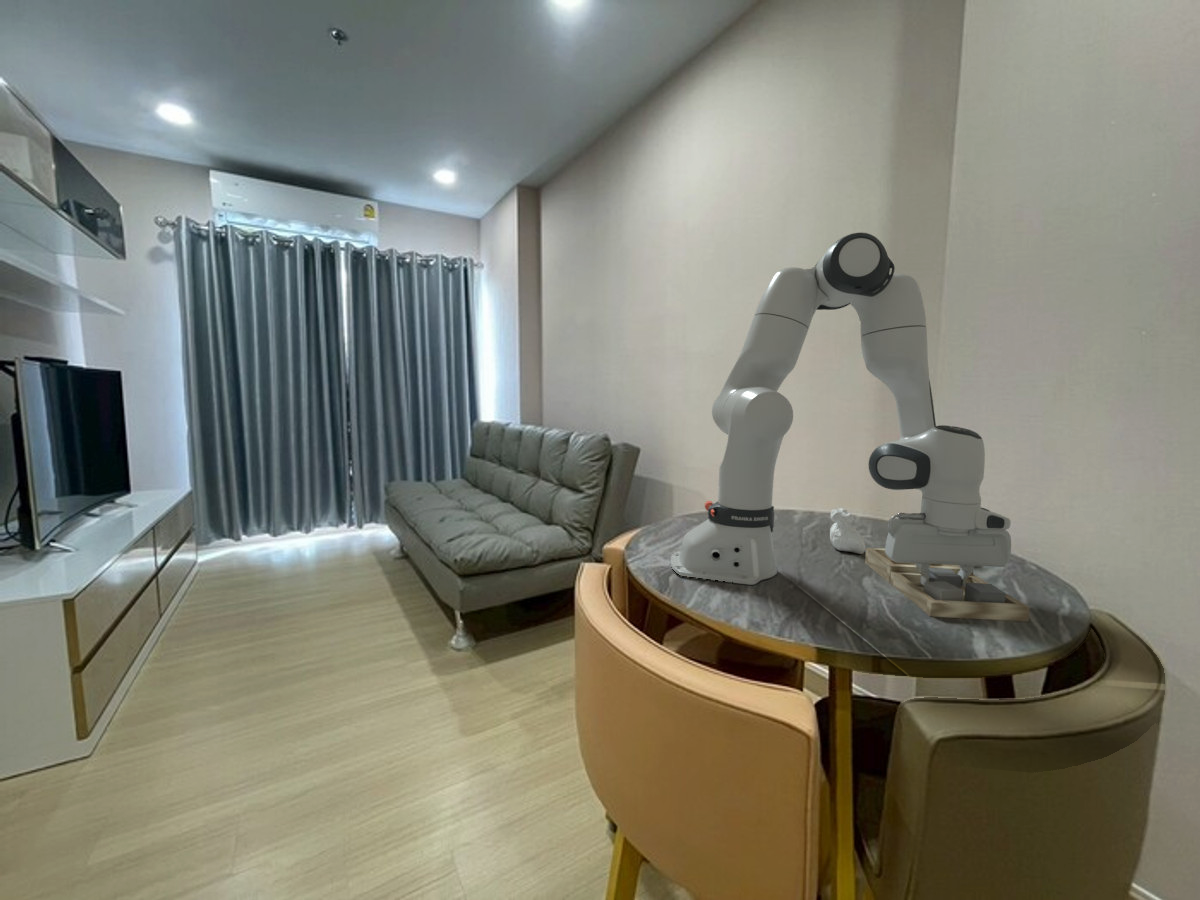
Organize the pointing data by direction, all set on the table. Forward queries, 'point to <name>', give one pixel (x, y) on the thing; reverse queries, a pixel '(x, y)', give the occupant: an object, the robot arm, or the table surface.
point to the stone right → (983, 593)
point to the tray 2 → (958, 609)
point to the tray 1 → (895, 564)
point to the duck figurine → (845, 532)
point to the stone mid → (945, 576)
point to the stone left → (943, 591)
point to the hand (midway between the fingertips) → (942, 585)
